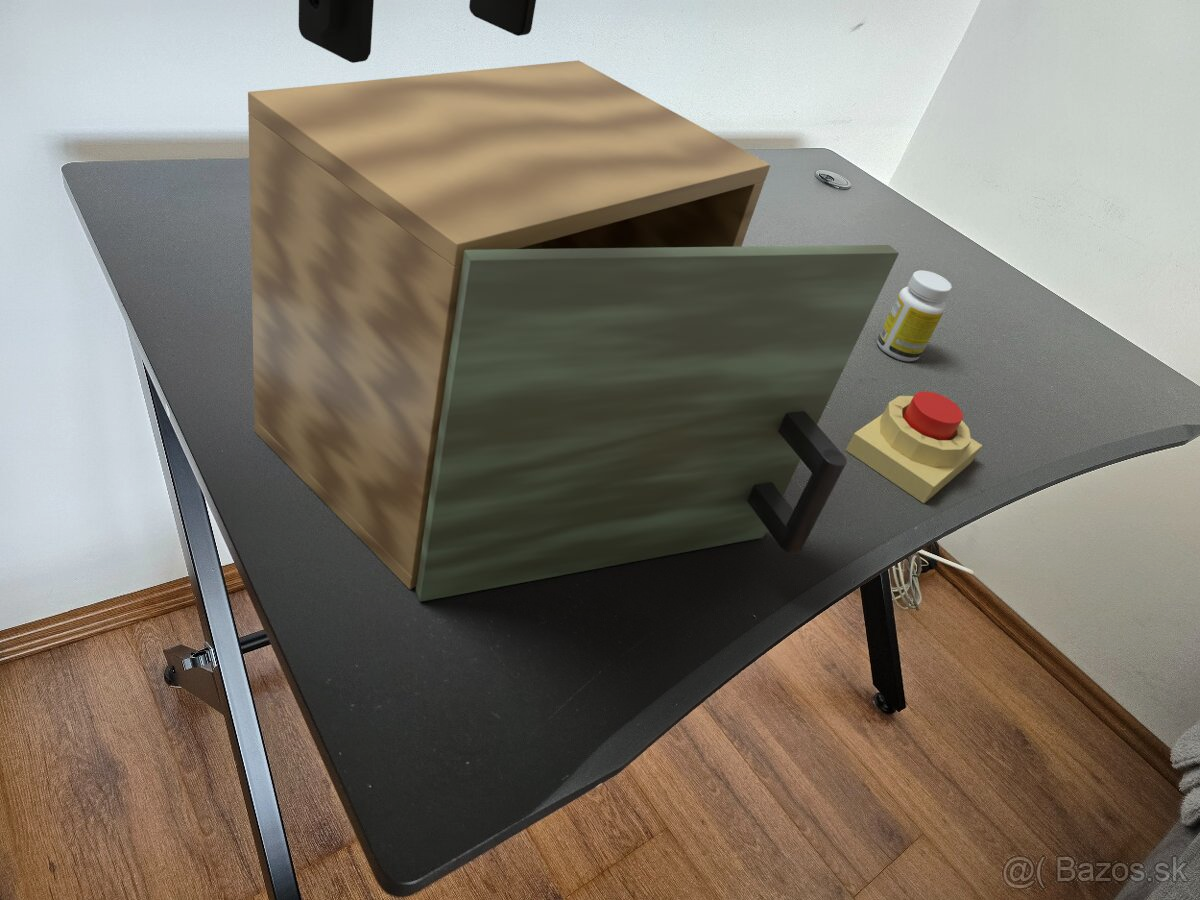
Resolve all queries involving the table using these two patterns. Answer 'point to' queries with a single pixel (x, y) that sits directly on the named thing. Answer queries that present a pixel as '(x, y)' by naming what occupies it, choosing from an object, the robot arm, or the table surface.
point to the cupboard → (439, 249)
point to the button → (933, 415)
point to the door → (636, 404)
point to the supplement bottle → (914, 316)
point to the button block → (912, 452)
